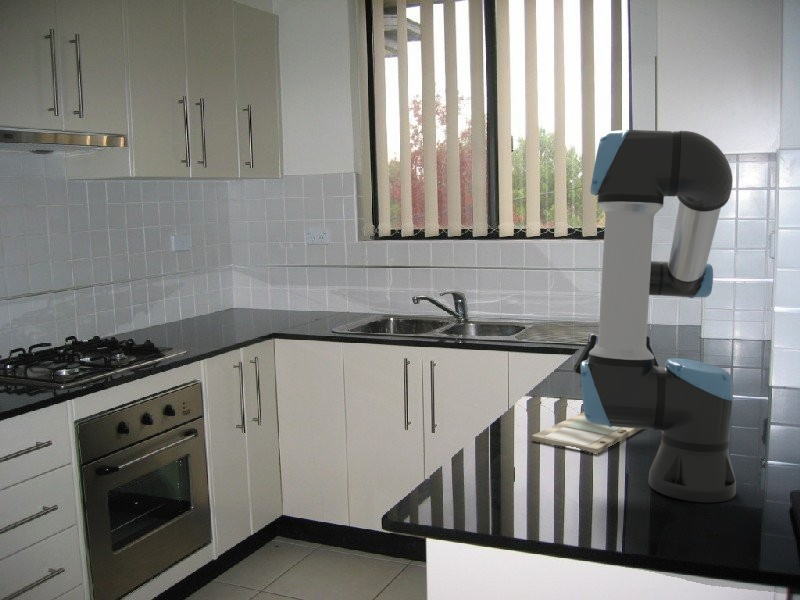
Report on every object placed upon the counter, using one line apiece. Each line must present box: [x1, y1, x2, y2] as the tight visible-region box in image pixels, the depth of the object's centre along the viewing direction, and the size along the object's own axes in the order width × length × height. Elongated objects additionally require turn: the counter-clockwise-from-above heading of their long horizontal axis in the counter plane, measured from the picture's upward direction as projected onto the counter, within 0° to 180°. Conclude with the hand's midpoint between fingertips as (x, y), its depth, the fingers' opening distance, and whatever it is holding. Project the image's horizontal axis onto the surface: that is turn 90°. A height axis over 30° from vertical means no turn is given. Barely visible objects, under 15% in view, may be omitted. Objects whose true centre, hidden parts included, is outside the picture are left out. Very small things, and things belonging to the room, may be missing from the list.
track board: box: [531, 411, 642, 455], centre depth 192 cm, size 35×15×1 cm, turn 144°
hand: (615, 403), depth 199 cm, fingers open, 13 cm apart
